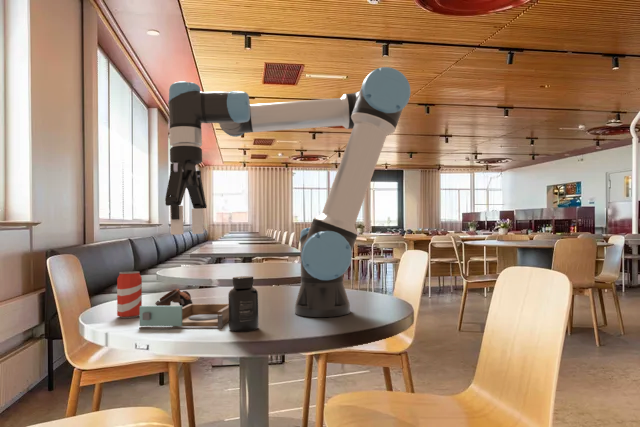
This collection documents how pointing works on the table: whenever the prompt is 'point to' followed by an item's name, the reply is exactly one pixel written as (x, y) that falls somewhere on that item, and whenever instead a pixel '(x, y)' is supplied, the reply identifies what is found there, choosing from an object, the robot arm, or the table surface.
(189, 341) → the table surface
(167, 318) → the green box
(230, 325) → the supplement bottle
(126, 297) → the beverage can
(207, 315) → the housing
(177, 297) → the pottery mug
